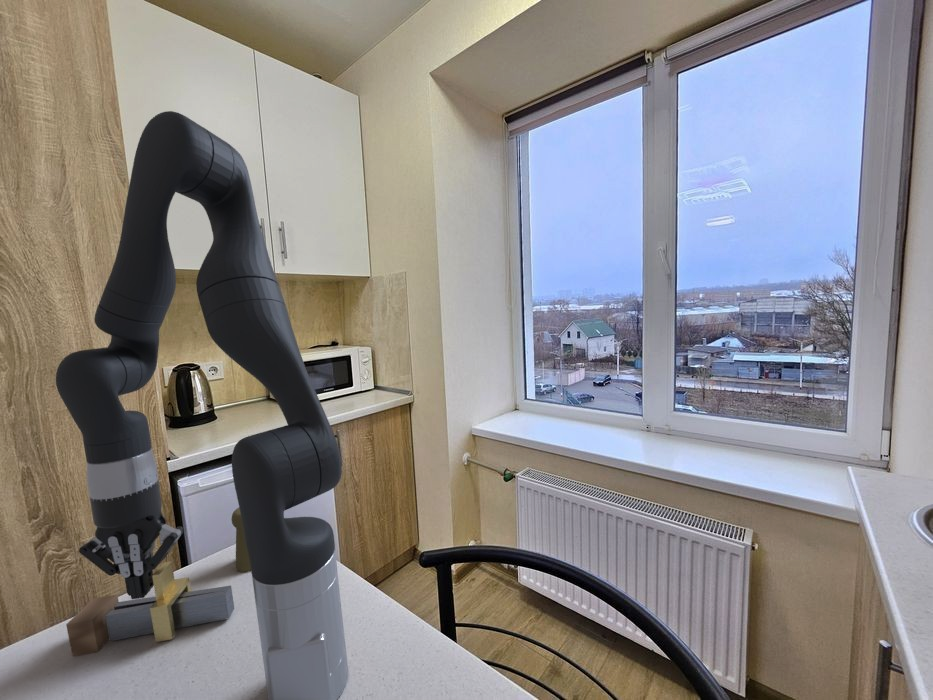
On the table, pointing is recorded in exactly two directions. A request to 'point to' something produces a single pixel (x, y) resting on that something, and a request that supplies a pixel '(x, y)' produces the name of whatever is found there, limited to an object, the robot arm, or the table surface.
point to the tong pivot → (90, 626)
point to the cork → (240, 544)
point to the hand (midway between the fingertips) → (141, 594)
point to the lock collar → (166, 600)
